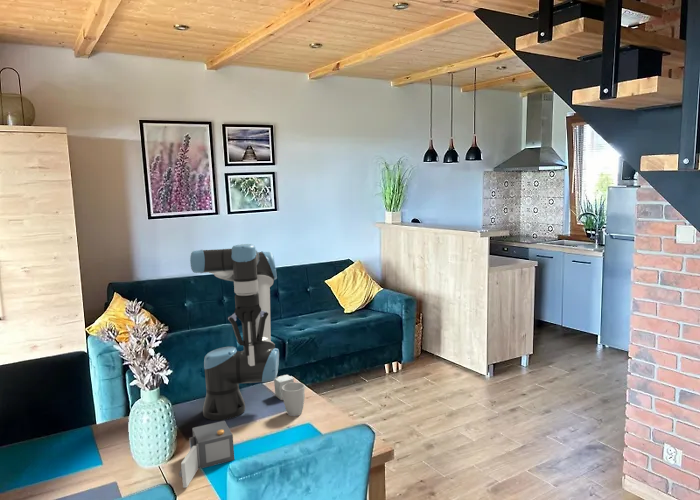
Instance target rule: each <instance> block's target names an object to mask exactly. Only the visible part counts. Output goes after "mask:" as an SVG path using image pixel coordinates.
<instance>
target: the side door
mask: <svg viewBox="0 0 700 500" xmlns="http://www.w3.org/2000/svg"><path fill="white" fill-rule="evenodd" d="M180 467H181V468H180V470H179V472H178V475H179V478H181V477H182V480H181V481H182V488H188V487H189V484H191V481H192V480H193V478H194V477H195V475H196V473H197V472H198V470H199V469H201V468H200V459H199V447H198V444H196V446H193V447H192V448H191V449H190V448H189V451H188V452H187V454H186V455H185V457H184V458H183V459H182V461H181V463H180Z"/></svg>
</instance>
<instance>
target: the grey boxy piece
mask: <svg viewBox="0 0 700 500" xmlns="http://www.w3.org/2000/svg"><path fill="white" fill-rule="evenodd" d="M191 429H192V437H189V438H188V439H189V441H188V442H189V450H190V449H191V448H192V447H193V446H196V444H198V447H199V459H200V468H199V469H201V470H202V469H204V468H208V467H213V466H215V465H221V464H225V463H228V462H231V461H235V448H234V436H233V433H232V431H231V429H230V427H229V426H228V424H227V422H226V421H225V420H219V421H217V422H216V421H215V422H212V423H208V424H204V425H203V424H202V425H198V426H195V427H192V428H191Z"/></svg>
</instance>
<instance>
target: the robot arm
mask: <svg viewBox="0 0 700 500" xmlns="http://www.w3.org/2000/svg"><path fill="white" fill-rule="evenodd" d="M189 257H190V258H189V261H190V263H189V264H190V269H191V271H192V273H195V274H197V273H198V274H199V273H200V274H204V273H205V274H206V273H209V274H212V275H214V277H216V278H218V279H220V280H224V281H230V282H233V286H234V287H233V288H234V289H233V290H234V291H233V292H234V294H235V295H234V302H235V306H234V307H235V309H234V311H233V313H232V315H229V316H228V317H227V320H228V322H230V323H231V326H232V329H233V332H234V336H235V338H236V341H237V343H238V345H239V346H243V350H241V351H239V350H237V347H235V346H229V345H228V346H222V347H219V348H216V349H213V350H211V351H209V352H207V354H206V355H205V356H204V359H203V360H204V361H203V369H204V377H205V390H206V395H205V398H204V402H203V406H202V414H203V415H202V416H203V417H204V418H205V419H206V420H210V421H211V420H212V421H225V420H231V419H233V418H236V417H238V416H239V417H240V415H242V414H243V413H244V412H245V411H246V402H245V399H244V397H243V395H242V393H241V391H240V384H254V383H266V382H274V379H275V378H276V377H278V372H279V363H280V350H279V348H276V344H275V343H274V342H273V341H271V340H272V336H271V335H272V334H271V327H272V326H271V289H270V288H271V287H272V286H273V285H274V281H275V280H277V279H278V276H277V275H278V274H277V268H276V262H275V257H274V254H273V252H271V251H258V250H257V249H256V246H255V245H254V244H252V243H245V244H243V243H242V244H235V245H233V246H232V247H231V248H222V249H200V250H193V251H191V253H190V256H189ZM237 318H238V320H240V322H241V328H242V329H241V331H242V336H241V333H240V330H239V327H238V324H237V322H236V321H238V320H237Z"/></svg>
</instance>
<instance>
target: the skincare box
mask: <svg viewBox="0 0 700 500" xmlns="http://www.w3.org/2000/svg"><path fill="white" fill-rule="evenodd" d="M294 380H295V379H294V378H293V377H292V376H290V375H289V374H283V375H280V376H277V377H276V378H275V379H274V380H273V383H274V385H273V386H274V395H275V397H276V398H278V399H279V400H280V401H284V400H283V393H282V386H283V385H285V384H288V383H293V382H294Z"/></svg>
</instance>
